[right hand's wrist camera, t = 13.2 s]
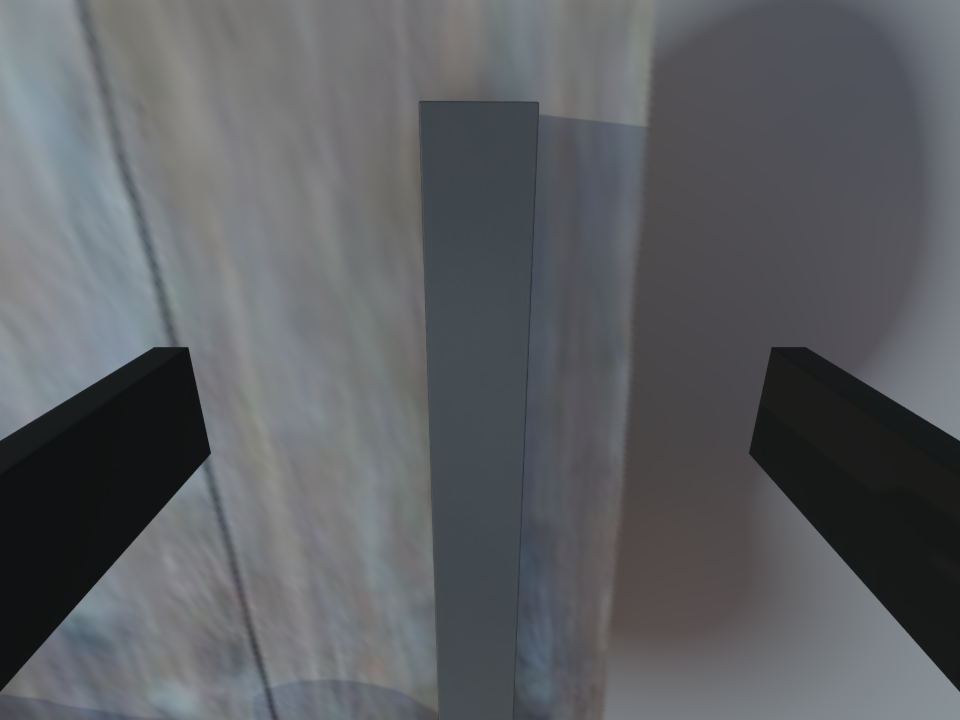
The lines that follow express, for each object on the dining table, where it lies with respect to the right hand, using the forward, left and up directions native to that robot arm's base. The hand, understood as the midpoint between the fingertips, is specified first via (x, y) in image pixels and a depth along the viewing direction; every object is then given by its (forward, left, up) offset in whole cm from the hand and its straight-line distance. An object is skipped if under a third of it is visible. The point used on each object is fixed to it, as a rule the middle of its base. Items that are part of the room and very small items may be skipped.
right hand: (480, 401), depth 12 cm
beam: (+14, +24, -24) cm, 37 cm away
